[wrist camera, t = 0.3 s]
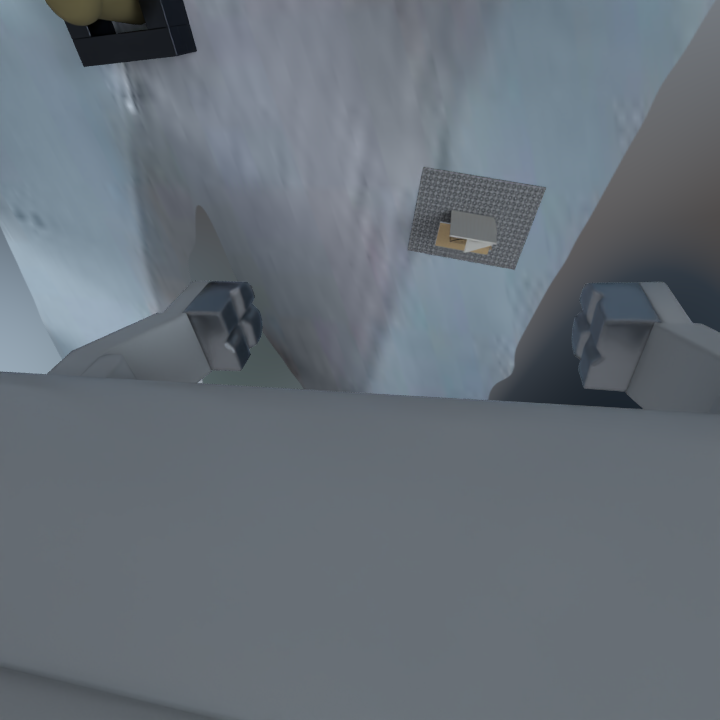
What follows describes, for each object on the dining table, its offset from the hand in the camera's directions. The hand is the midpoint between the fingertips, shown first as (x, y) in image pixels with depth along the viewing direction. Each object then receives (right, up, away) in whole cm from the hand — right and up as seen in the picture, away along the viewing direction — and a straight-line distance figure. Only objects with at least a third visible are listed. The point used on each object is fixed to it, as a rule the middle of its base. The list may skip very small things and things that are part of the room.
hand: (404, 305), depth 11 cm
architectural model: (+14, +17, +46) cm, 50 cm away
